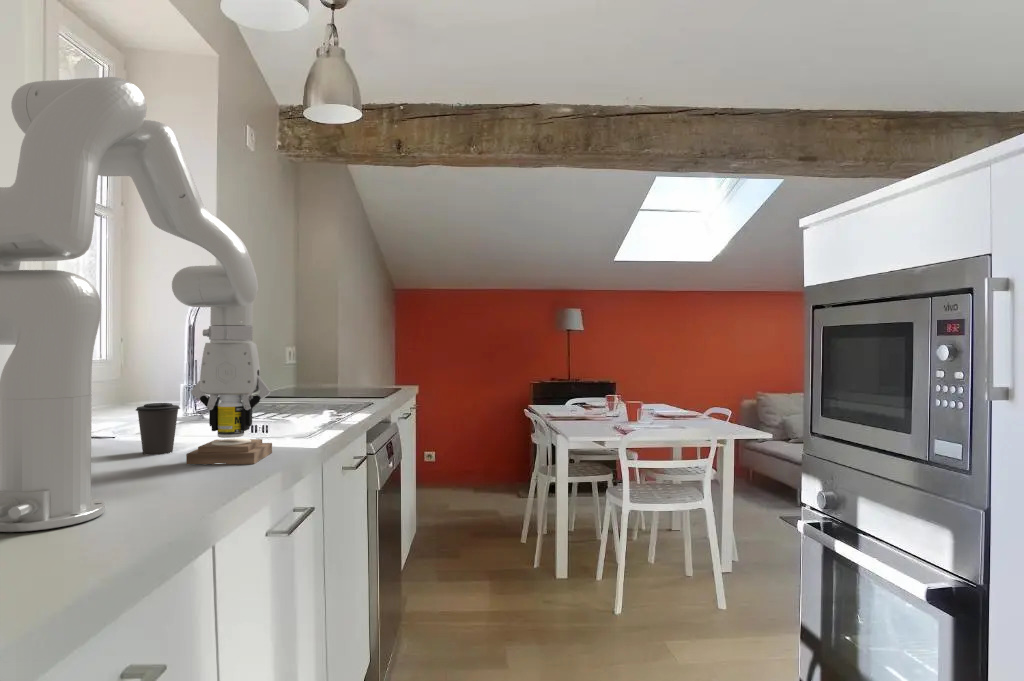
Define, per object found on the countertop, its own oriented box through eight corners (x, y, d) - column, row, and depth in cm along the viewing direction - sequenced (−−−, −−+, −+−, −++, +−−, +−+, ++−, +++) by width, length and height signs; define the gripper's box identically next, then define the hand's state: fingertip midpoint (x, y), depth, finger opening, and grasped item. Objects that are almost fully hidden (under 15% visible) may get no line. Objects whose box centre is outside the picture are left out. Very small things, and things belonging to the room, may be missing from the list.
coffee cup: (166, 456, 127) (166, 405, 127) (125, 455, 128) (126, 404, 128) (188, 449, 135) (188, 401, 135) (149, 448, 136) (150, 401, 136)
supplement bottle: (237, 438, 123) (237, 393, 123) (212, 438, 123) (213, 393, 123) (248, 434, 127) (248, 391, 127) (224, 434, 127) (224, 391, 127)
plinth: (254, 463, 120) (254, 446, 120) (186, 464, 119) (186, 446, 119) (272, 452, 132) (272, 436, 132) (210, 453, 131) (210, 437, 131)
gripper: (177, 335, 121) (176, 433, 120) (271, 335, 122) (270, 432, 122) (193, 335, 128) (192, 428, 128) (281, 336, 130) (281, 427, 129)
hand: (230, 429), depth 125 cm, fingers closed on supplement bottle, 4 cm apart
